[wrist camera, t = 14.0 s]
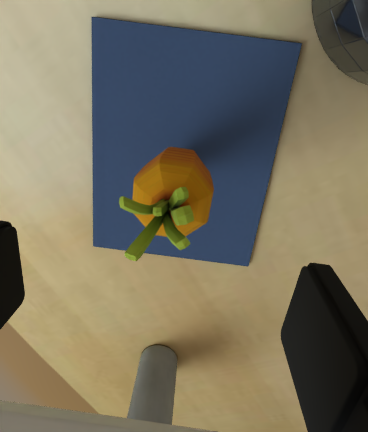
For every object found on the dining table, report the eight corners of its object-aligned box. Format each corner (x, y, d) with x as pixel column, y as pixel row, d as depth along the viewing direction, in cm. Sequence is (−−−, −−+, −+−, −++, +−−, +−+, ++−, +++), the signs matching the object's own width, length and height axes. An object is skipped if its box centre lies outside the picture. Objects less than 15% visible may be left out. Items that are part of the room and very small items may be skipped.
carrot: (163, 192, 28) (125, 295, 14) (147, 139, 26) (86, 198, 12) (215, 179, 27) (229, 276, 13) (203, 124, 25) (204, 170, 12)
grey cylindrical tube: (164, 339, 36) (151, 430, 26) (184, 363, 37) (178, 457, 28) (133, 352, 37) (110, 443, 28) (153, 375, 38) (138, 469, 29)
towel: (93, 17, 23) (91, 16, 23) (300, 44, 23) (302, 43, 23) (94, 244, 31) (93, 246, 31) (247, 264, 31) (248, 266, 31)
